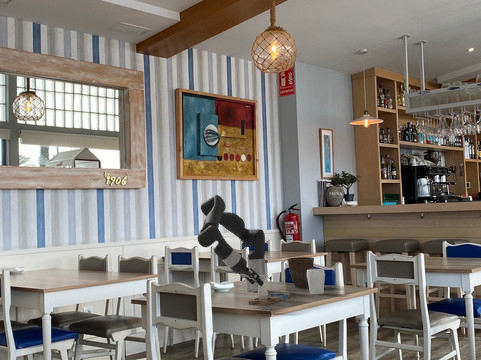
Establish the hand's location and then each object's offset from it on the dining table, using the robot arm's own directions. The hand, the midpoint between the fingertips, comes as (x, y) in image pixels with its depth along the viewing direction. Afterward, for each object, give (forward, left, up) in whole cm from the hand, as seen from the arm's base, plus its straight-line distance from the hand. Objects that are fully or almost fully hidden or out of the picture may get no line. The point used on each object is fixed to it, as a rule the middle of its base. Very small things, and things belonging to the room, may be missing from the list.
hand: (258, 283), depth 271 cm
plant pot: (-6, +64, -10) cm, 65 cm away
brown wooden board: (+1, +9, -10) cm, 14 cm away
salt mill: (+1, +3, -9) cm, 9 cm away
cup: (+12, +41, -10) cm, 43 cm away
